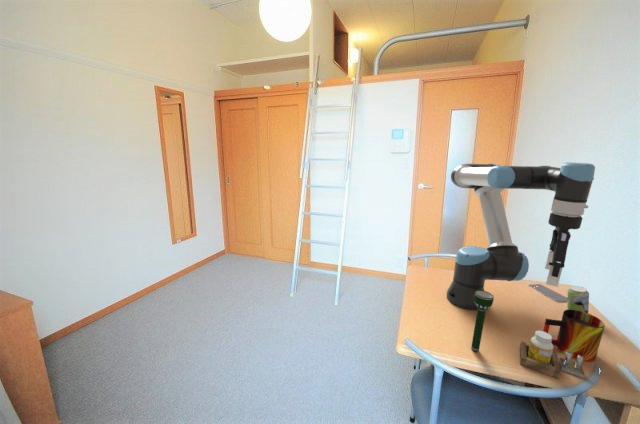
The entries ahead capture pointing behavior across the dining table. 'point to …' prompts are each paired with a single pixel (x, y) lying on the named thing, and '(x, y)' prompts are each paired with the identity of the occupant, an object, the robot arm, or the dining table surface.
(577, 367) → the peg rest
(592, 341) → the mug
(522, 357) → the collar block
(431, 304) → the dining table surface
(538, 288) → the smartphone
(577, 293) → the beverage can
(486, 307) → the flashlight
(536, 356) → the supplement bottle
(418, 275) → the dining table surface
